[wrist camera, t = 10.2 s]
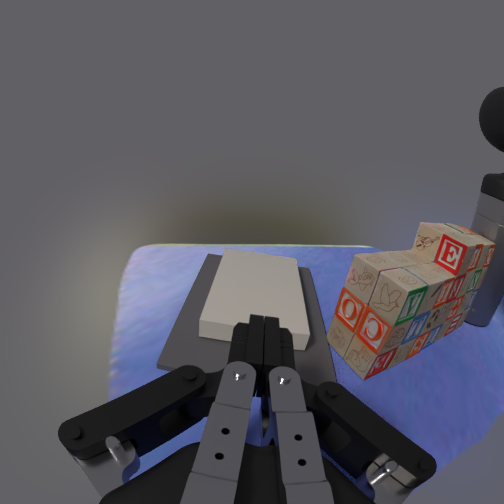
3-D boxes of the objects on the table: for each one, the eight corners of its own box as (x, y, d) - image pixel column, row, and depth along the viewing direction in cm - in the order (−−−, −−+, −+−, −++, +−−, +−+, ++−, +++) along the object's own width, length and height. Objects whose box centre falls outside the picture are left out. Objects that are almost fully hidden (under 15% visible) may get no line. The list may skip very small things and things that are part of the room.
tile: (310, 334, 22) (295, 258, 36) (199, 319, 22) (225, 248, 36) (303, 352, 23) (292, 273, 37) (198, 338, 23) (224, 263, 37)
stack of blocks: (362, 384, 20) (423, 250, 16) (322, 340, 26) (360, 217, 21) (462, 325, 29) (497, 242, 24) (431, 303, 34) (461, 223, 30)
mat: (335, 391, 19) (337, 387, 19) (157, 367, 20) (156, 363, 19) (308, 271, 39) (308, 268, 39) (207, 257, 39) (208, 253, 39)
